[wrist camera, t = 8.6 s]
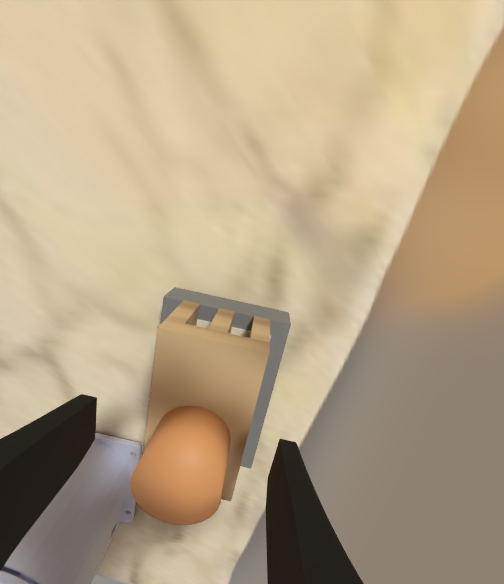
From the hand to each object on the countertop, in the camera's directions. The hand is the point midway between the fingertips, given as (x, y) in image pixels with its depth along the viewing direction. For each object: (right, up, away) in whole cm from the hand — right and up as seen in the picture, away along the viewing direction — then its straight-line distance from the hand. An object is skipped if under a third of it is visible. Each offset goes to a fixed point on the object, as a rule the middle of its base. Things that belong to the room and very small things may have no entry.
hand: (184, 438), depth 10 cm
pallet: (0, 0, +8) cm, 8 cm away
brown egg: (-1, -2, +4) cm, 5 cm away
